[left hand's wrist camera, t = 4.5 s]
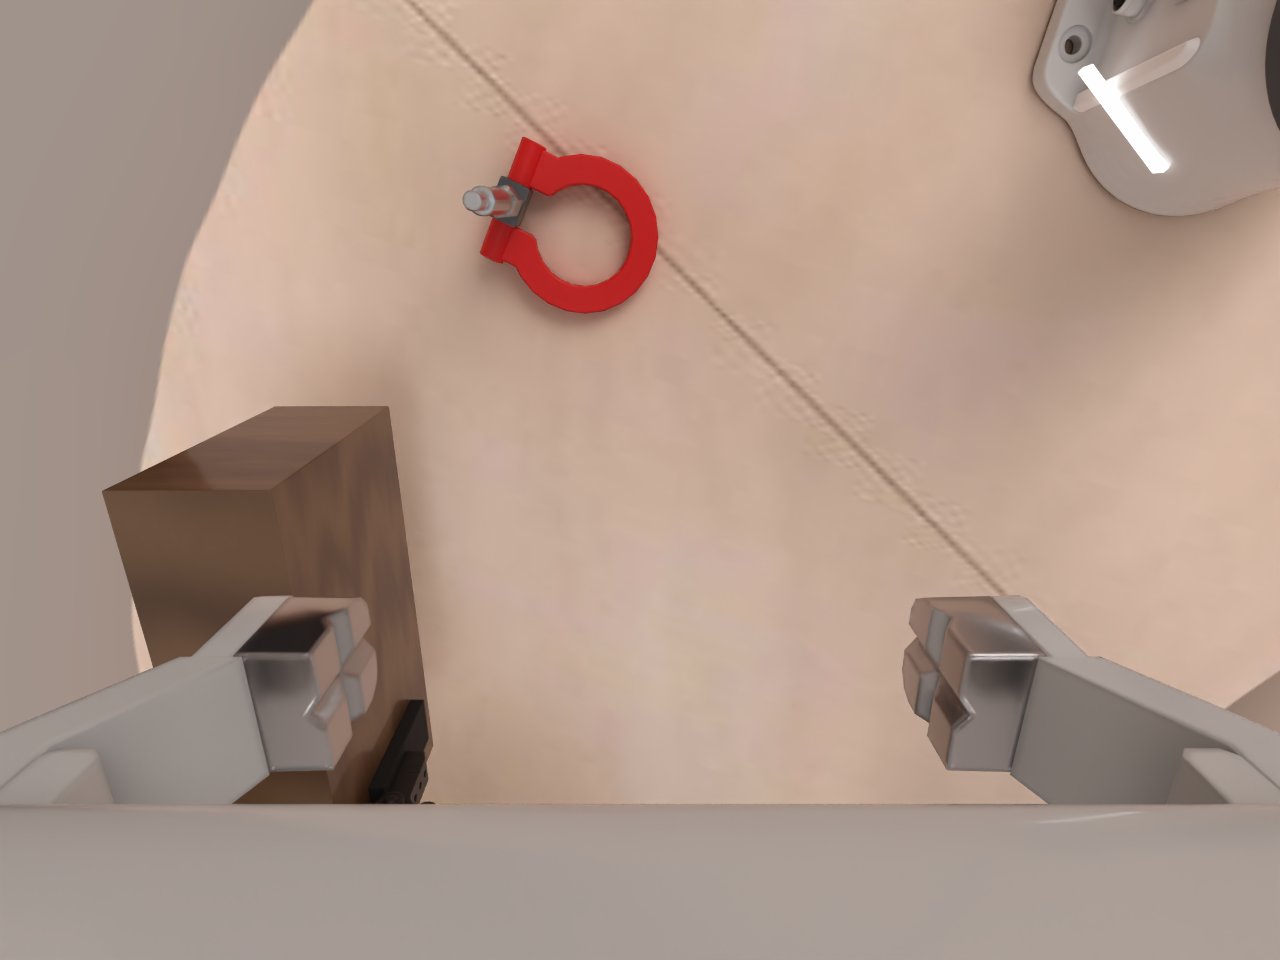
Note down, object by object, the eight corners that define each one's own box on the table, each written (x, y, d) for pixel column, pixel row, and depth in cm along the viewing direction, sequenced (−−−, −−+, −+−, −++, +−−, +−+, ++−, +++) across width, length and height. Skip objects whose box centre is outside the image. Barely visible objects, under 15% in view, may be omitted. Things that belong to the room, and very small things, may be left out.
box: (274, 406, 35) (100, 491, 24) (389, 405, 35) (270, 490, 24) (339, 745, 43) (230, 933, 32) (433, 745, 43) (359, 932, 32)
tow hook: (681, 198, 39) (529, 119, 37) (713, 195, 27) (491, 79, 25) (619, 333, 42) (474, 266, 40) (624, 385, 30) (417, 292, 28)
